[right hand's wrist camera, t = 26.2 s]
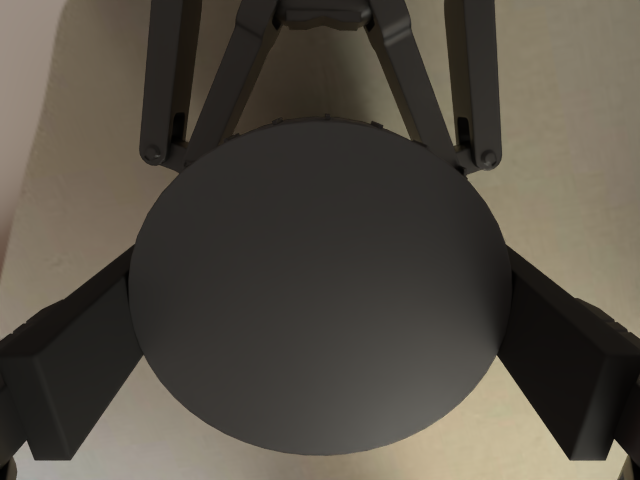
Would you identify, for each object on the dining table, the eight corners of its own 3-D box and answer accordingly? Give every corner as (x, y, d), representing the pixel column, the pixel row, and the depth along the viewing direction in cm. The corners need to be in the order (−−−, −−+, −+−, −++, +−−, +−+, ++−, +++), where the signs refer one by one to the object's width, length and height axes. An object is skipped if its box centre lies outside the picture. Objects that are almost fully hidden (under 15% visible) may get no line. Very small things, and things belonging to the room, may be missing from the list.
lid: (347, 23, 9) (354, 5, 7) (543, 305, 12) (583, 342, 10) (86, 265, 12) (42, 296, 10) (302, 451, 15) (300, 502, 13)
